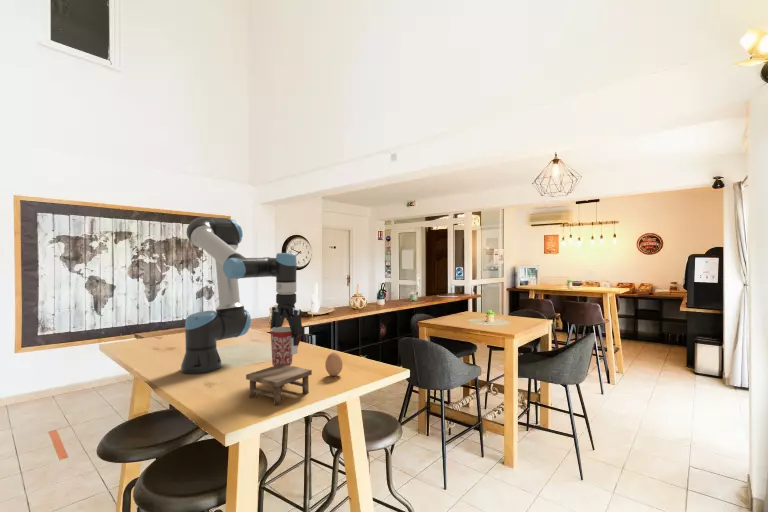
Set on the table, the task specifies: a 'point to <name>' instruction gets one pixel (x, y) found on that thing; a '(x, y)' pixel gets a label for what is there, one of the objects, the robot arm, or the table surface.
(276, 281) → the robot arm
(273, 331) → the mug
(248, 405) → the table surface
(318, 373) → the table surface
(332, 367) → the egg
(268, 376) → the stool
